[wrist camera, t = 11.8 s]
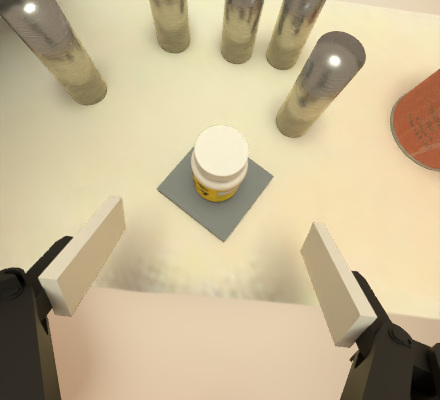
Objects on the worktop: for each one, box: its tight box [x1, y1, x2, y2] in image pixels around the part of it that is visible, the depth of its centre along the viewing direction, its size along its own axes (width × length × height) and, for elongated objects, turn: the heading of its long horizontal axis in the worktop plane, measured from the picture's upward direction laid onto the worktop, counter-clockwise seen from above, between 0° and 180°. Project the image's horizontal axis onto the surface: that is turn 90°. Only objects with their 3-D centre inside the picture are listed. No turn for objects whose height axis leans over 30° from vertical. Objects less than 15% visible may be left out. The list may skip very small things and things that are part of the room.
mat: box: [157, 147, 274, 242], centre depth 25 cm, size 9×9×1 cm
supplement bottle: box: [191, 125, 249, 203], centre depth 20 cm, size 5×5×8 cm
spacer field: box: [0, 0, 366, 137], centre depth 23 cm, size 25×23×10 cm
